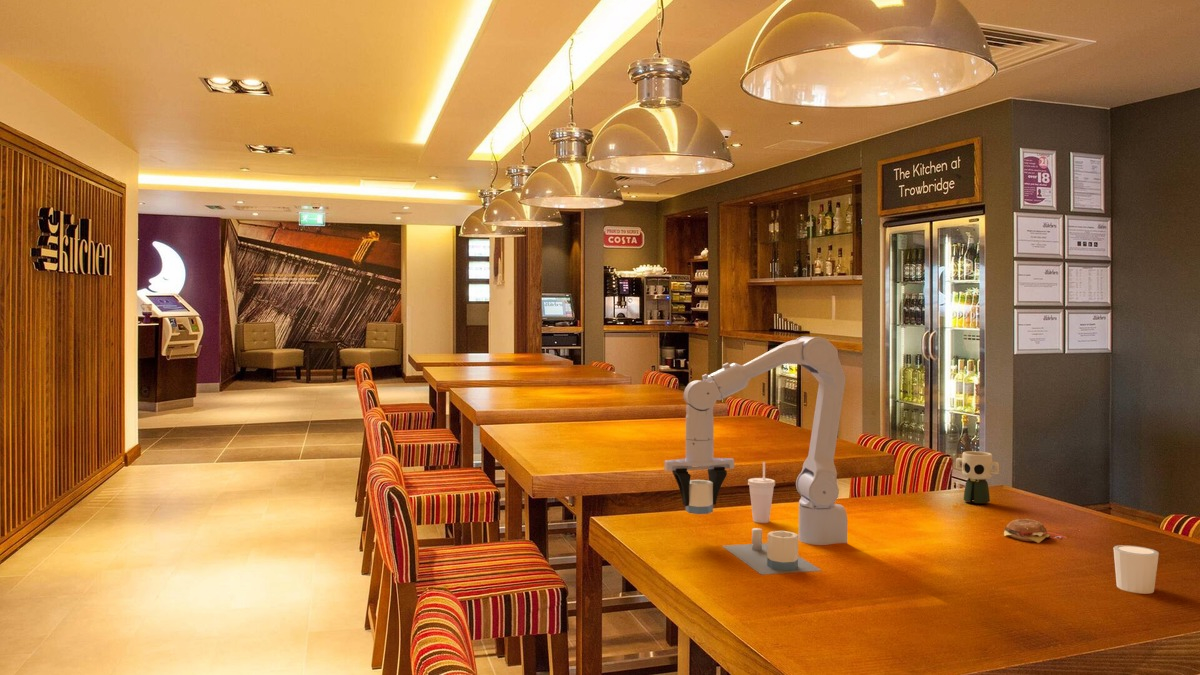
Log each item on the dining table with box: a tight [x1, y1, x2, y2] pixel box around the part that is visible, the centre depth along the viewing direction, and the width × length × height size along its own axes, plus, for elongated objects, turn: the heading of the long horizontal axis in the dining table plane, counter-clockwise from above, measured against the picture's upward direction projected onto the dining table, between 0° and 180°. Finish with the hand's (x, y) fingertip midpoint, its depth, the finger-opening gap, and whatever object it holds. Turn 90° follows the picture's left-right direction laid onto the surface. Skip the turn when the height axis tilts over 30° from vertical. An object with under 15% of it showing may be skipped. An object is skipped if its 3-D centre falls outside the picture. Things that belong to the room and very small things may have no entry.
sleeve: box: [685, 479, 714, 515], centre depth 178 cm, size 5×5×6 cm
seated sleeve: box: [766, 530, 799, 571], centre depth 161 cm, size 5×5×6 cm
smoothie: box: [747, 461, 776, 524], centre depth 202 cm, size 6×6×14 cm
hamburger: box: [1003, 518, 1067, 544], centre depth 189 cm, size 14×14×6 cm
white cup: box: [1112, 544, 1160, 595], centre depth 153 cm, size 7×7×7 cm
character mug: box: [955, 450, 1000, 505], centre depth 223 cm, size 11×7×13 cm, turn 46°
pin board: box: [721, 527, 823, 576], centre depth 166 cm, size 12×20×6 cm, turn 13°
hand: (699, 504), depth 178 cm, fingers closed on sleeve, 5 cm apart
